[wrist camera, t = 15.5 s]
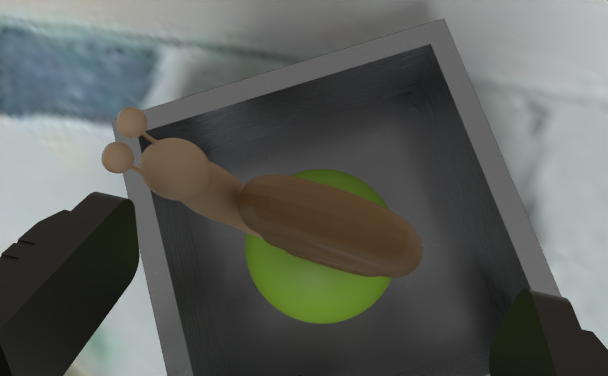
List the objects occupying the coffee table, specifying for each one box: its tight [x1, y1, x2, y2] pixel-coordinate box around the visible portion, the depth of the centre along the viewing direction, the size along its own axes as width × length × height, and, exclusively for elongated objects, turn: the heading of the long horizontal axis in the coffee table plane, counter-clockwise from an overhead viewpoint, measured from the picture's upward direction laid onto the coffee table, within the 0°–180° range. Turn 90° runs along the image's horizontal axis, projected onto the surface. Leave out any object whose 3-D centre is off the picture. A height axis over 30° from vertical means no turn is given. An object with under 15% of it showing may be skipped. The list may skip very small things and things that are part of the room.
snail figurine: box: [102, 107, 423, 324], centre depth 13 cm, size 5×6×12 cm
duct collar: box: [111, 19, 561, 376], centre depth 17 cm, size 15×15×5 cm
